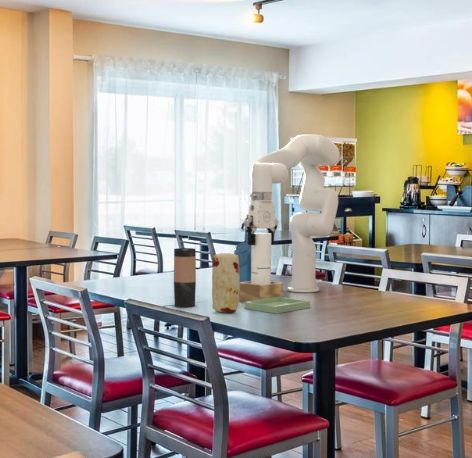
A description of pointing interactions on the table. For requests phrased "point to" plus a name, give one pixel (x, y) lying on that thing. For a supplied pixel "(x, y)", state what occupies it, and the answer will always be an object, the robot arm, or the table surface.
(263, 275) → the cylindrical container
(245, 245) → the wine bottle
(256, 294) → the crate
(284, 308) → the tray
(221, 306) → the food model
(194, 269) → the travel mug
